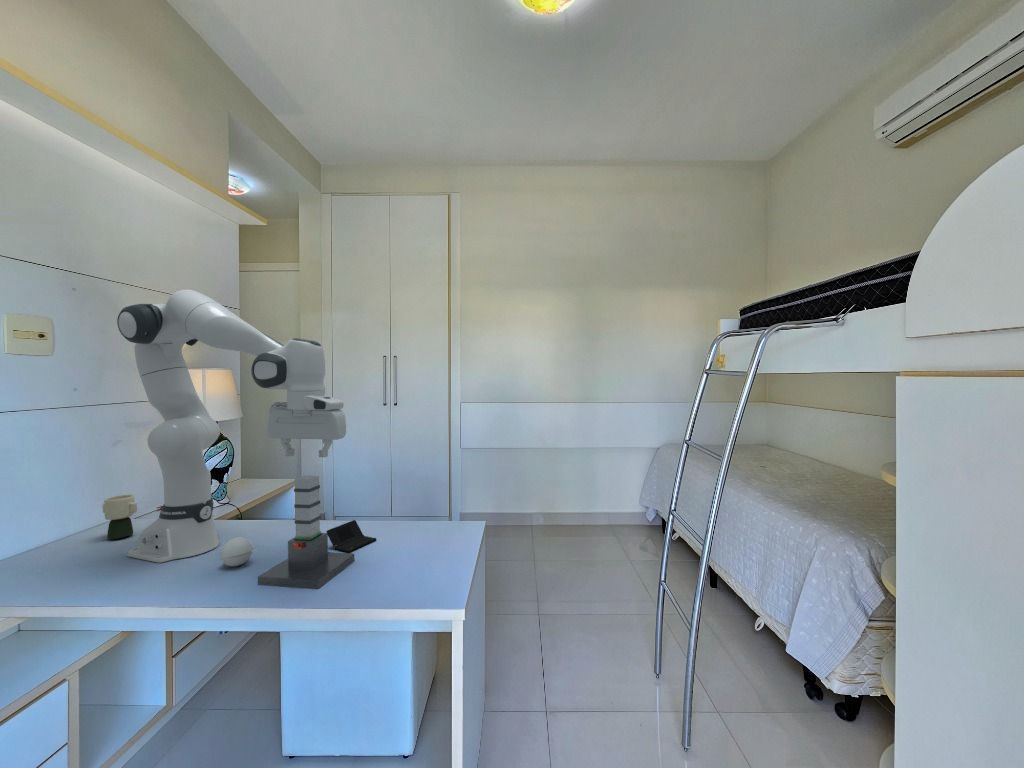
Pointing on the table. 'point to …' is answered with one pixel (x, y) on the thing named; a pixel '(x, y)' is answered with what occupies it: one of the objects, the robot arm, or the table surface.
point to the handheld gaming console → (348, 537)
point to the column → (307, 508)
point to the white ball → (236, 551)
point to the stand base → (307, 565)
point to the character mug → (119, 515)
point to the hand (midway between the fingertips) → (306, 456)
